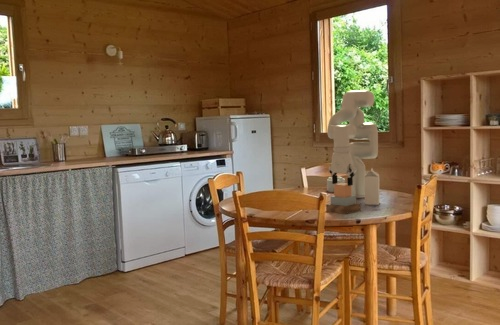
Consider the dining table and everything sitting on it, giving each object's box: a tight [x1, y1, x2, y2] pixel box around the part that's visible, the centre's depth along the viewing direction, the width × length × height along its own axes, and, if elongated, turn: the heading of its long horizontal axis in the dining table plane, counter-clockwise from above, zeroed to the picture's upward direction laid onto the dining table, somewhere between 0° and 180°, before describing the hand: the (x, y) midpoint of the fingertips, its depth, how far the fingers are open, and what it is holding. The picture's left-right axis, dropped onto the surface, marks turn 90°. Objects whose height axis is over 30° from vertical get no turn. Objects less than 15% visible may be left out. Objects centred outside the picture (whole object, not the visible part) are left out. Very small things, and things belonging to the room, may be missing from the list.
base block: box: [325, 202, 362, 215], centre depth 240 cm, size 12×12×4 cm
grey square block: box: [330, 195, 357, 206], centre depth 240 cm, size 9×9×4 cm
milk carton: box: [364, 167, 381, 206], centre depth 255 cm, size 7×7×19 cm
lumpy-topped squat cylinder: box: [326, 176, 346, 193], centre depth 304 cm, size 10×13×9 cm
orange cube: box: [333, 182, 352, 197], centre depth 240 cm, size 6×6×6 cm
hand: (342, 184), depth 240 cm, fingers open, 9 cm apart
